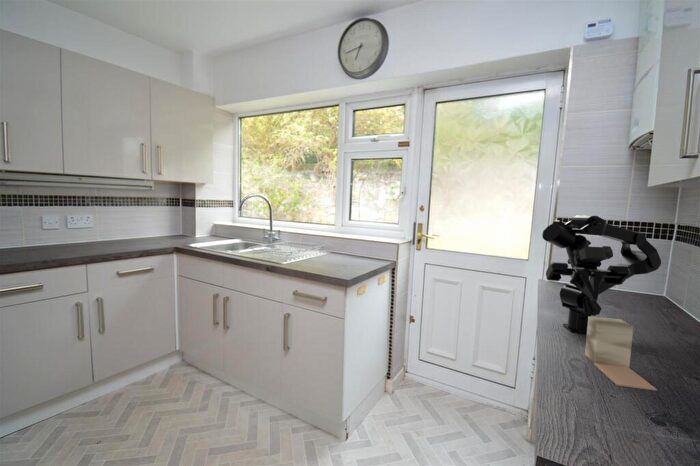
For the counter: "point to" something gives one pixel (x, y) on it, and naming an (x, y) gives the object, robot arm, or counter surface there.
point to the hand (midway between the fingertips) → (595, 300)
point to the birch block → (609, 341)
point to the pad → (624, 376)
